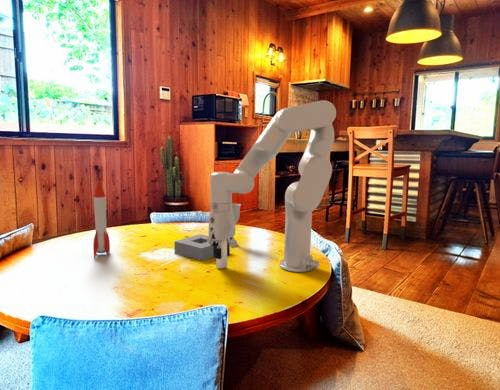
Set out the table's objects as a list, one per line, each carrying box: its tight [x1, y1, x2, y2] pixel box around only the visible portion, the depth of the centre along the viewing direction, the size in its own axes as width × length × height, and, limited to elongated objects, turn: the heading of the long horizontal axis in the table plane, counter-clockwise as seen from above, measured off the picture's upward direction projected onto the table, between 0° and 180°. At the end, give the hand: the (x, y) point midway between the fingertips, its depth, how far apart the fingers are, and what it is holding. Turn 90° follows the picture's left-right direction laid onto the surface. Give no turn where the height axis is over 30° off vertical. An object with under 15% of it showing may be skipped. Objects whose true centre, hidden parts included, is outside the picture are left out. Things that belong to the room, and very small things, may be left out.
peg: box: [215, 239, 228, 269], centre depth 134 cm, size 4×4×12 cm
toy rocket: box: [92, 179, 111, 258], centre depth 145 cm, size 6×6×30 cm
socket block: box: [174, 233, 214, 262], centre depth 152 cm, size 15×15×5 cm
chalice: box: [230, 203, 242, 248], centre depth 163 cm, size 7×7×18 cm
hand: (221, 256), depth 134 cm, fingers closed on peg, 4 cm apart
